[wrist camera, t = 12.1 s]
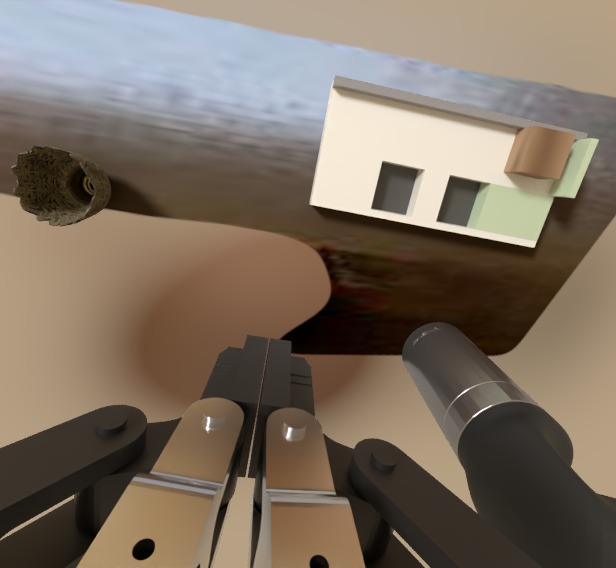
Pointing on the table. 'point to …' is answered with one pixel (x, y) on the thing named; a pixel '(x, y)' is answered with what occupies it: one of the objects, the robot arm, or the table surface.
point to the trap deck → (434, 164)
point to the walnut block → (539, 152)
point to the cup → (60, 185)
